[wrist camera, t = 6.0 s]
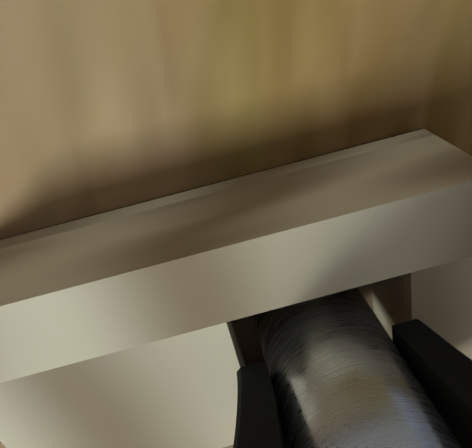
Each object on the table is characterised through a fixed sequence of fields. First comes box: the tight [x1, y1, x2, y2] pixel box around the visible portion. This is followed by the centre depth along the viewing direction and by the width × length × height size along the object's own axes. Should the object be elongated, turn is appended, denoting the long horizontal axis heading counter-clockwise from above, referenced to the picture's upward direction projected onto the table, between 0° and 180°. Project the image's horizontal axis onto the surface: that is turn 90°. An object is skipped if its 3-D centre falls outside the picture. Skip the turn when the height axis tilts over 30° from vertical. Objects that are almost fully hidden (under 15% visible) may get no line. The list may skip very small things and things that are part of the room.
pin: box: [253, 287, 462, 448], centre depth 9 cm, size 3×3×8 cm
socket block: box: [0, 129, 472, 448], centre depth 13 cm, size 12×12×3 cm
